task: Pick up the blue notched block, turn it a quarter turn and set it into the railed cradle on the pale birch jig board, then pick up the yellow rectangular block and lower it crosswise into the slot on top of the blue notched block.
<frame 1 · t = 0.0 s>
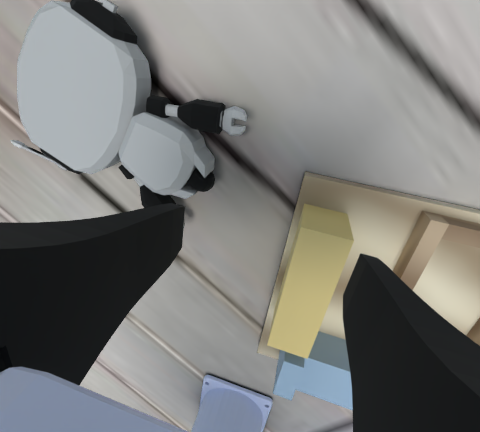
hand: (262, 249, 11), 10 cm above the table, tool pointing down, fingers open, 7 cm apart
jig: (372, 299, 22), on the table
robot toy: (146, 122, 21), on the table
yellow rectangular block: (307, 266, 21), point 1 cm above the table, touching jig
blue notched block: (328, 352, 24), point 1 cm above the table, touching jig
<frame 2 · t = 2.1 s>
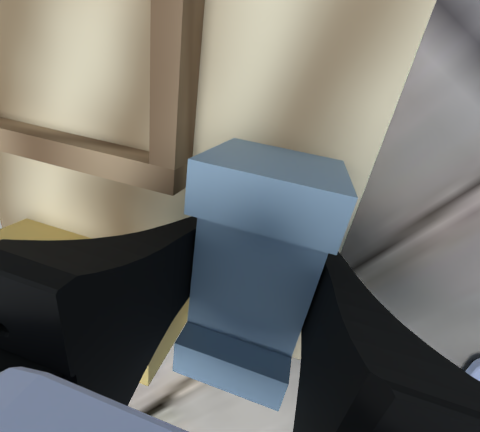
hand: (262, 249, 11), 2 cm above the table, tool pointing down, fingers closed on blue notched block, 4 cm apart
jig: (152, 166, 13), on the table
yellow rectangular block: (107, 266, 15), point 1 cm above the table, touching jig
blue notched block: (265, 242, 11), point 1 cm above the table, touching gripper, jig
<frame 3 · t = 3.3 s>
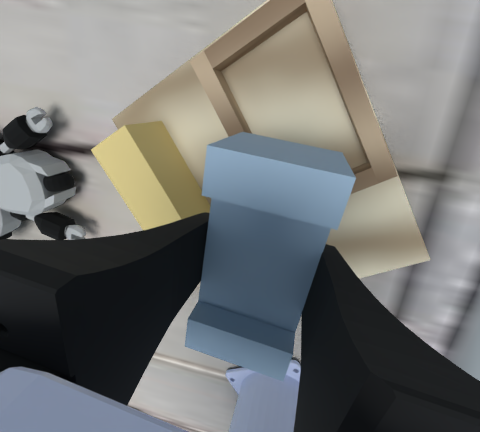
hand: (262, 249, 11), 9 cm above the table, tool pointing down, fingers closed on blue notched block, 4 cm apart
jig: (264, 181, 19), on the table
robot toy: (26, 175, 26), on the table
yellow rectangular block: (182, 192, 20), point 1 cm above the table, touching jig
blue notched block: (269, 230, 12), point 7 cm above the table, touching gripper
when the fingers open (3 cm above the table, at t = 5.1 s): blue notched block stays where it is, resting on jig.
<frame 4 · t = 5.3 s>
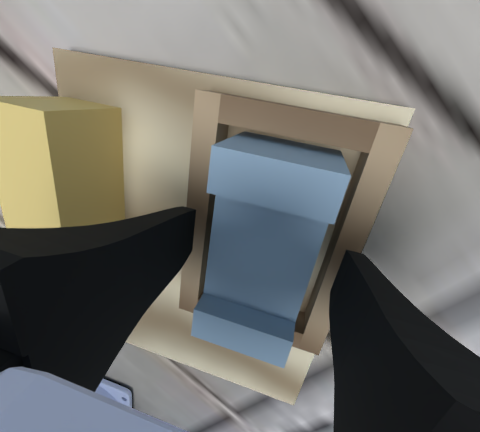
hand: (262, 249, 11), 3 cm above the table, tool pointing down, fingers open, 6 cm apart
jig: (200, 248, 16), on the table
yellow rectangular block: (100, 198, 15), point 1 cm above the table, touching jig
blue notched block: (271, 225, 13), point 1 cm above the table, touching jig
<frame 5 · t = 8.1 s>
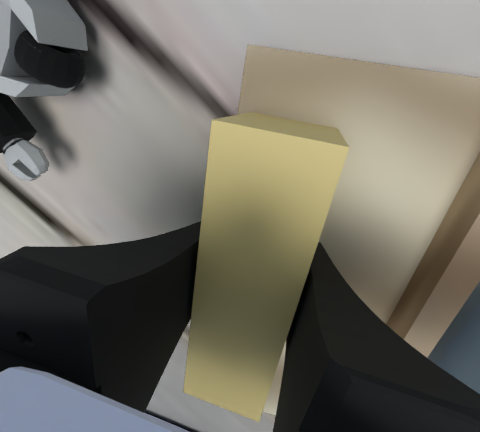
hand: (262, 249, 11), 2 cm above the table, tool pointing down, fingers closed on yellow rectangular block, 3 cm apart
jig: (383, 303, 12), on the table
yellow rectangular block: (265, 242, 11), point 1 cm above the table, touching gripper, jig
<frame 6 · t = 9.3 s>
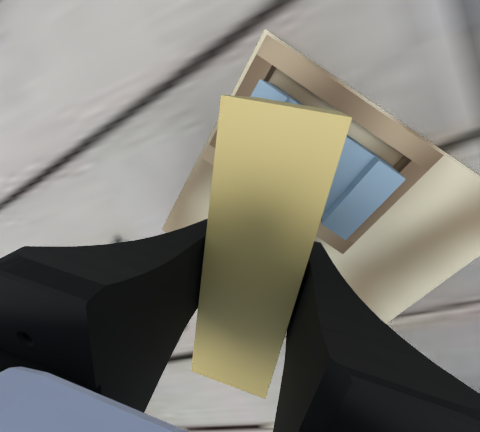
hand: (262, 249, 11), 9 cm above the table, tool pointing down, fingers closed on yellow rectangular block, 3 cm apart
jig: (312, 217, 19), on the table
yellow rectangular block: (269, 226, 12), point 8 cm above the table, touching gripper
blue notched block: (308, 151, 17), point 1 cm above the table, touching jig
when the fingers open (5 cm above the table, at t = 10.6 s): yellow rectangular block stays where it is, resting on blue notched block.
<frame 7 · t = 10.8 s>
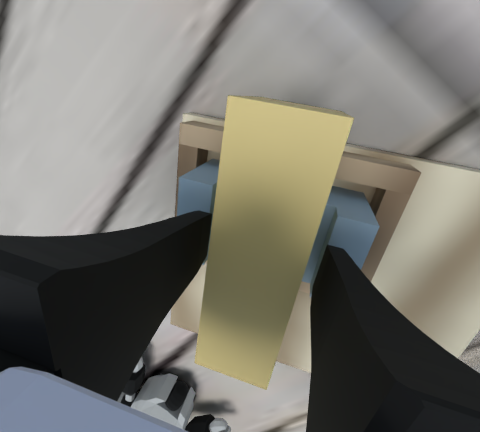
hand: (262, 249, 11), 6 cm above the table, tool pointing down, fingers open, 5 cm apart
jig: (314, 269, 17), on the table
robot toy: (158, 397, 28), on the table
yellow rectangular block: (271, 223, 12), point 4 cm above the table, touching blue notched block
blue notched block: (276, 209, 15), point 1 cm above the table, touching jig, yellow rectangular block
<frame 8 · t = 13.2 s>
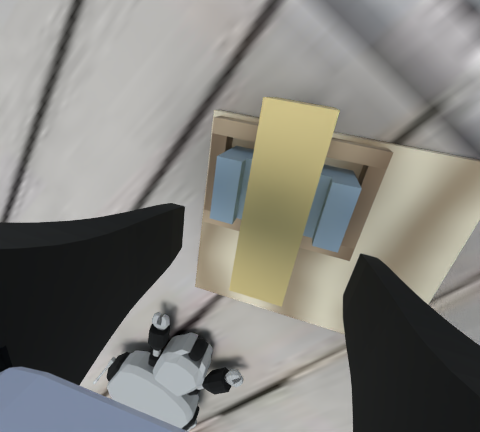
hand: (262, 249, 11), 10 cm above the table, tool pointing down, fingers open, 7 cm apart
jig: (315, 235, 21), on the table
robot toy: (178, 358, 32), on the table
yellow rectangular block: (283, 191, 16), point 4 cm above the table, touching blue notched block
blue notched block: (285, 185, 19), point 1 cm above the table, touching jig, yellow rectangular block
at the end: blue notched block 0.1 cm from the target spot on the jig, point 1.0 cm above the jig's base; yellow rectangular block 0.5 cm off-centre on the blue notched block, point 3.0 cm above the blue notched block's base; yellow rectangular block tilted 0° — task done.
